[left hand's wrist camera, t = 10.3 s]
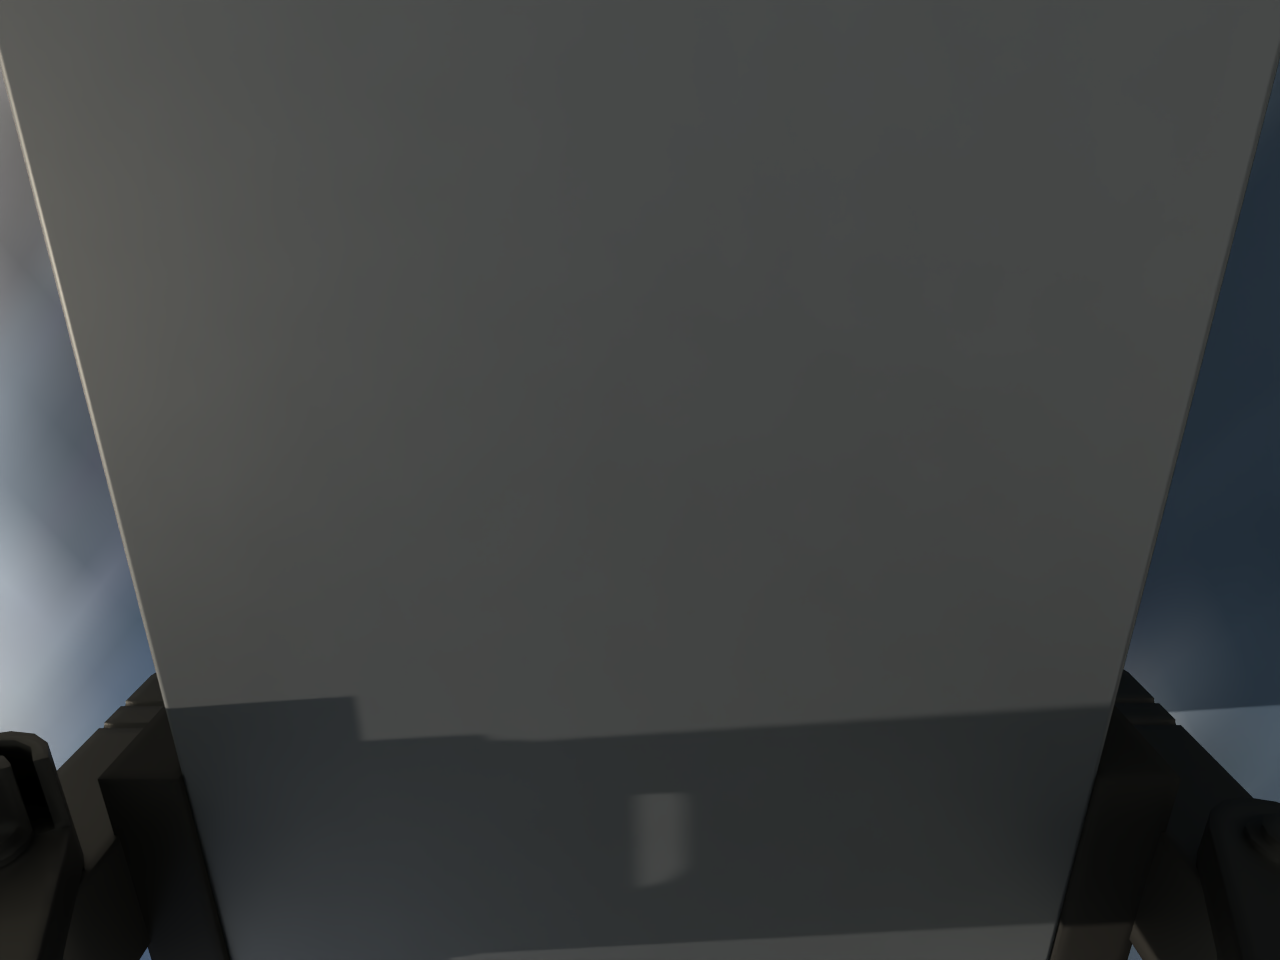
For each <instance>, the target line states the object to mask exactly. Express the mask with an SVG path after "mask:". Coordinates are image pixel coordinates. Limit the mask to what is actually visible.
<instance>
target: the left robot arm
mask: <svg viewBox="0 0 1280 960" xmlns="http://www.w3.org/2000/svg"><path fill="white" fill-rule="evenodd" d="M1132 944H1133V946H1134V947H1135V949H1136V950H1137V952H1138V953H1139V955H1140V957H1141V958H1142V960H1280V803H1278V802H1274V801H1267V800H1261V799H1255V798H1253V797H1252V796H1251V795H1250V794H1249V793H1248V792H1247V791H1246V790H1245V789H1244V788H1243V787H1242V786H1241V785H1240V784H1239V783H1238V782H1237V781H1236V780H1235V779H1234V778H1233V777H1232V776H1231V775H1230V774H1229V773H1228V772H1227V771H1226V770H1225V769H1224V768H1223V767H1222V766H1221V765H1220V764H1219V763H1218V762H1217V761H1216V760H1215V759H1214V758H1213V757H1212V756H1211V755H1210V754H1209V753H1208V752H1207V751H1206V750H1205V749H1204V748H1203V747H1202V746H1201V745H1200V744H1199V743H1198V742H1197V741H1196V740H1195V739H1194V738H1193V737H1192V736H1191V735H1190V734H1189V733H1188V732H1187V731H1186V730H1185V729H1184V728H1183V727H1182V726H1181V725H1176V723H1175V719H1174V718H1173V717H1172V716H1171V715H1170V714H1169V713H1168V712H1167V711H1166V710H1165V709H1164V708H1163V707H1162V706H1161V705H1160V704H1159V703H1154V698H1153V697H1152V696H1151V695H1150V694H1149V693H1148V692H1147V691H1146V690H1145V689H1144V688H1143V687H1142V686H1141V685H1140V684H1139V683H1138V682H1137V681H1136V680H1135V679H1134V678H1133V677H1132V676H1131V675H1130V674H1129V673H1128V672H1127V671H1125V670H1123V672H1122V676H1121V680H1120V684H1119V688H1118V692H1117V696H1116V700H1115V703H1114V707H1113V711H1112V715H1111V719H1110V723H1109V727H1108V731H1107V735H1106V739H1105V742H1104V746H1103V750H1102V754H1101V758H1100V762H1099V766H1098V770H1097V774H1096V778H1095V782H1094V785H1093V789H1092V793H1091V797H1090V801H1089V805H1088V809H1087V813H1086V817H1085V821H1084V825H1083V828H1082V832H1081V836H1080V840H1079V844H1078V848H1077V852H1076V856H1075V860H1074V864H1073V867H1072V871H1071V875H1070V879H1069V883H1068V887H1067V891H1066V895H1065V899H1064V903H1063V907H1062V910H1061V914H1060V918H1059V922H1058V926H1057V930H1056V934H1055V938H1054V942H1053V946H1052V949H1051V953H1050V957H1049V960H1127V959H1128V956H1129V953H1130V949H1131V946H1132ZM147 947H148V949H149V953H150V956H151V959H152V960H230V958H229V954H228V950H227V946H226V942H225V938H224V934H223V930H222V926H221V923H220V919H219V915H218V911H217V907H216V903H215V899H214V895H213V891H212V888H211V884H210V880H209V876H208V872H207V868H206V864H205V860H204V856H203V853H202V849H201V845H200V841H199V837H198V833H197V829H196V825H195V822H194V818H193V814H192V810H191V806H190V802H189V798H188V794H187V790H186V787H185V783H184V779H183V775H182V771H181V767H180V763H179V759H178V755H177V752H176V748H175V744H174V740H173V736H172V732H171V728H170V724H169V720H168V717H167V713H166V709H165V705H164V701H163V697H162V693H161V689H160V685H159V682H158V678H157V674H156V673H154V674H153V675H151V676H150V677H149V678H148V679H147V680H146V681H145V682H144V683H143V684H142V685H141V686H140V687H139V688H138V689H137V690H136V691H135V692H134V693H133V694H132V695H131V696H130V697H129V698H128V699H127V700H126V705H125V706H121V707H120V708H119V709H118V710H117V711H116V712H115V713H114V714H113V715H112V716H111V717H110V718H109V719H108V720H107V721H106V722H105V726H104V728H99V729H98V730H97V731H96V732H95V733H94V734H93V735H92V736H91V737H90V738H89V739H88V740H87V741H86V742H85V743H84V744H83V745H82V746H81V747H80V748H79V749H78V750H77V751H76V752H75V753H74V754H73V755H72V756H71V757H70V758H69V759H68V760H67V761H66V762H65V763H64V764H63V765H62V766H61V767H60V768H59V769H58V770H56V767H55V764H54V761H53V758H52V755H51V752H50V749H49V746H48V743H47V742H46V741H44V740H43V739H41V738H40V737H38V736H37V735H36V734H32V733H23V732H13V731H9V732H2V733H0V960H139V959H140V958H141V956H142V955H143V953H144V952H145V950H146V949H147Z"/></svg>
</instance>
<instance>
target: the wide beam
mask: <svg viewBox="0 0 1280 960" xmlns="http://www.w3.org/2000/svg"><path fill="white" fill-rule="evenodd" d="M1279 59H1280V0H0V67H1V71H2V75H3V79H4V83H5V87H6V91H7V95H8V99H9V102H10V106H11V110H12V114H13V118H14V122H15V126H16V130H17V134H18V137H19V141H20V145H21V149H22V153H23V157H24V161H25V165H26V169H27V172H28V176H29V180H30V184H31V188H32V192H33V196H34V200H35V204H36V207H37V211H38V215H39V219H40V223H41V227H42V231H43V235H44V239H45V242H46V246H47V250H48V254H49V258H50V262H51V266H52V270H53V273H54V277H55V281H56V285H57V289H58V293H59V297H60V301H61V305H62V308H63V312H64V316H65V320H66V324H67V328H68V332H69V336H70V340H71V343H72V347H73V351H74V355H75V359H76V363H77V367H78V371H79V375H80V378H81V382H82V386H83V390H84V394H85V398H86V402H87V406H88V410H89V413H90V417H91V421H92V425H93V429H94V433H95V437H96V441H97V444H98V448H99V452H100V456H101V460H102V464H103V468H104V472H105V476H106V479H107V483H108V487H109V491H110V495H111V499H112V503H113V507H114V511H115V514H116V518H117V522H118V526H119V530H120V534H121V538H122V542H123V546H124V549H125V553H126V557H127V561H128V565H129V569H130V573H131V577H132V581H133V584H134V588H135V592H136V596H137V600H138V604H139V608H140V612H141V616H142V619H143V623H144V627H145V631H146V635H147V639H148V643H149V647H150V650H151V654H152V658H153V662H154V666H155V670H156V674H157V678H158V682H159V685H160V689H161V693H162V697H163V701H164V705H165V709H166V713H167V717H168V720H169V724H170V728H171V732H172V736H173V740H174V744H175V748H176V752H177V755H178V759H179V763H180V767H181V771H182V775H183V779H184V783H185V787H186V790H187V794H188V798H189V802H190V806H191V810H192V814H193V818H194V822H195V825H196V829H197V833H198V837H199V841H200V845H201V849H202V853H203V856H204V860H205V864H206V868H207V872H208V876H209V880H210V884H211V888H212V891H213V895H214V899H215V903H216V907H217V911H218V915H219V919H220V923H221V926H222V930H223V934H224V938H225V942H226V946H227V950H228V954H229V958H230V960H1049V957H1050V953H1051V949H1052V946H1053V942H1054V938H1055V934H1056V930H1057V926H1058V922H1059V918H1060V914H1061V910H1062V907H1063V903H1064V899H1065V895H1066V891H1067V887H1068V883H1069V879H1070V875H1071V871H1072V867H1073V864H1074V860H1075V856H1076V852H1077V848H1078V844H1079V840H1080V836H1081V832H1082V828H1083V825H1084V821H1085V817H1086V813H1087V809H1088V805H1089V801H1090V797H1091V793H1092V789H1093V785H1094V782H1095V778H1096V774H1097V770H1098V766H1099V762H1100V758H1101V754H1102V750H1103V746H1104V742H1105V739H1106V735H1107V731H1108V727H1109V723H1110V719H1111V715H1112V711H1113V707H1114V703H1115V700H1116V696H1117V692H1118V688H1119V684H1120V680H1121V676H1122V672H1123V668H1124V664H1125V660H1126V657H1127V653H1128V649H1129V645H1130V641H1131V637H1132V633H1133V629H1134V625H1135V621H1136V618H1137V614H1138V610H1139V606H1140V602H1141V598H1142V594H1143V590H1144V586H1145V582H1146V578H1147V575H1148V571H1149V567H1150V563H1151V559H1152V555H1153V551H1154V547H1155V543H1156V539H1157V535H1158V532H1159V528H1160V524H1161V520H1162V516H1163V512H1164V508H1165V504H1166V500H1167V496H1168V493H1169V489H1170V485H1171V481H1172V477H1173V473H1174V469H1175V465H1176V461H1177V457H1178V453H1179V450H1180V446H1181V442H1182V438H1183V434H1184V430H1185V426H1186V422H1187V418H1188V414H1189V411H1190V407H1191V403H1192V399H1193V395H1194V391H1195V387H1196V383H1197V379H1198V375H1199V371H1200V368H1201V364H1202V360H1203V356H1204V352H1205V348H1206V344H1207V340H1208V336H1209V332H1210V329H1211V325H1212V321H1213V317H1214V313H1215V309H1216V305H1217V301H1218V297H1219V293H1220V289H1221V286H1222V282H1223V278H1224V274H1225V270H1226V266H1227V262H1228V258H1229V254H1230V250H1231V246H1232V243H1233V239H1234V235H1235V231H1236V227H1237V223H1238V219H1239V215H1240V211H1241V207H1242V204H1243V200H1244V196H1245V192H1246V188H1247V184H1248V180H1249V176H1250V172H1251V168H1252V164H1253V161H1254V157H1255V153H1256V149H1257V145H1258V141H1259V137H1260V133H1261V129H1262V125H1263V122H1264V118H1265V114H1266V110H1267V106H1268V102H1269V98H1270V94H1271V90H1272V86H1273V82H1274V79H1275V75H1276V71H1277V67H1278V63H1279Z"/></svg>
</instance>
